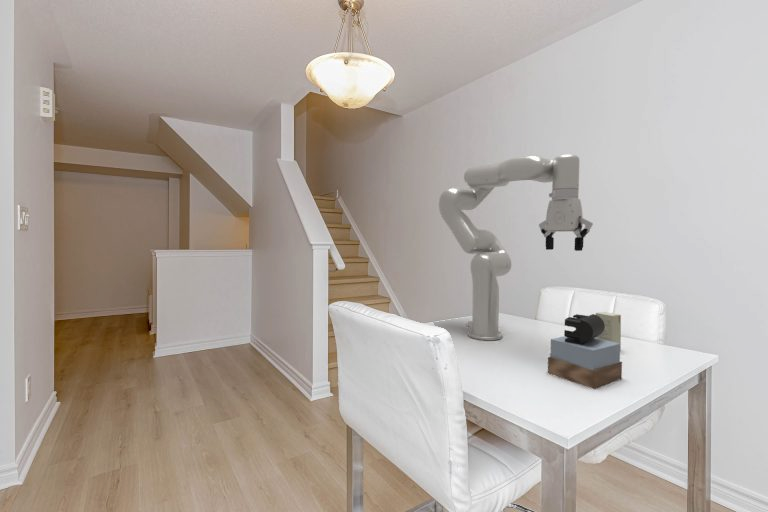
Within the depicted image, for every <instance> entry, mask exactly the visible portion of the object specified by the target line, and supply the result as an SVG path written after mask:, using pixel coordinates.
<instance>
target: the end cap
mask: <svg viewBox="0 0 768 512" xmlns="http://www.w3.org/2000/svg"><path fill="white" fill-rule="evenodd" d="M564 326H565V327H569V328H570V327H572V328H575V329H574V330H572V331H571V330H566V329H564V333H563V335H564V336H565V337H568V338H566V339H565V342H569V343H574V344H585V343H587V342H588V341H590V340H592V339H594V338H596V337H597V336H598V335H600V334H602V333H603V331H604V328H605V325H604V322H603V320H602V319H601V318H600V317H599V316H597V315H596V313H595V314H594V313H593V314H592V313H591V314H590V315H585V314H577V313H576V314H574V315H572V317H571V316H569V317H566V318H565V319H564ZM564 336H563V337H564Z"/></svg>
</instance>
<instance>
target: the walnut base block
mask: <svg viewBox="0 0 768 512" xmlns="http://www.w3.org/2000/svg"><path fill="white" fill-rule="evenodd" d="M622 368H623V362H622V361H620V363H616V364H613V365H609V366H606V367H602V368H599V369H595V370H590V369H587V368H584V367H581V366H577V365H574V364H571V363H568V362H565V361H561V360H558V359H555V358H552V357H550V356H547V374H548V373H549V374H548V375H551V374H552V375H551V376H554V375H555V377H557V376H558V378H560V377H561V379H563V378H564V379H563V380H566V379H567V380H566V381H570V382H573V383H576V384H579V385H582V386H584V387H587V388H590V387H591V388H590V389H594V390H596V388H597V389H599V388H601V386H602V387H604V386H606V384H607V385H609V384H611V382H612V383H615V382H617V381H619V380H621V379H622V377H623V376H622V375H623V374H622V370H623V369H622Z"/></svg>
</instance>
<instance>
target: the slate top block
mask: <svg viewBox="0 0 768 512" xmlns="http://www.w3.org/2000/svg"><path fill="white" fill-rule="evenodd" d="M566 338H568V337H565V336H560V337H555V338H550V356H549V357H552V358H555V359H558V360H561V361H565V362H568V363H571V364H574V365H577V366H581V367H584V368H587V369H590V370H595V369H599V368H602V367H606V366H609V365H613V364H616V363H620V360H621V351H620V344H619V343H615V342H611V341H606V340H602V339H598V338H594V339H592V340H590V341H588V342H587V343H585V344H574V343H569V342H565V339H566Z"/></svg>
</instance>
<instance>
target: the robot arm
mask: <svg viewBox="0 0 768 512" xmlns="http://www.w3.org/2000/svg"><path fill="white" fill-rule="evenodd" d="M463 180H464V183H465V185H467V186H468V188H462V187H448V188H446V189H444V190H443V191H442V193H441V194H440V196H439V201H438V210H439V213H440V215H441V217H442V220H443V221H444V222H445V224H446V225H447V226H448V228H449V230H450V231H451V233H452V235H453V236H454V238H455V240H456V241H457V243H458V245H459V246H460V247H461V249H462V250H463V252H464V253H466V254H469V255H474V256H473V257H472V259H471V261H470V267H469V268H470V274H471V281H472V317H471V318H472V321H471V320H469V321H468V322H466V324H465V327H467V328H469V330H468V332H467V336H468V335H469V337H470V338H471V339H475V340H483V341H497V340H500V339H503V337H504V334H503V333H502V332H501V331H499V321H500V319H499V314H500V313H499V311H500V308H499V307H500V287H499V283H498V279H497V277H502V276H505V275H507V274H508V273H510V271H511V269H512V260H511V257H510V255H509V254H508V252H507V250H506V249H505V247H504V246H503V245H502V243H501V242H500V241H499V239H498V237H497V235H495V234H494V233H493V232H491V231H490V230H487V229H478V228H477V227H476V225H474V223H473V222H472V220H471V218H470V217H469V216H468V215H467V214H466V213H464V211H472V210H475V209H476V208H477V207H478V206H480V204H481V203H482V202H484V200H485V199H486V198H487V197H488V196H489V195H490V194H491V193H492V191H493V190H494V189H495V188H498V187H499V188H500V187H505V186H507V185H508V184H509V183H510V182H517V181H519V182H520V181H534V182H538V183H543V184H545V183H551V182H552V188H551V189H552V190H551V193H550V192H549V193H548V197H549V198H551V200H549V202H548V206H547V210H546V215H545V216H546V217H545V220H544V221H542V222H540V223H538V227H539V230H540V232H541V234H542V235H543V237H544V238H545V250H547V251H548V250H549V251H551V250H554V248H555V247H554V242H555V241H554V240H555V238H554V234H555V233H556V232H573V233H574V235H575V236H576V237H574V251H576V252H578V251H579V252H580V251H583V248H584V238H586V235H587V234H589V233H590V231H591V229H592V227H593V222H591V221H590V220H587V219H585V218H584V217H583V208H582V201H581V199H580V198H579V190H580V189H579V188H580V183H579V181H580V157H579V156H578V155H576V154H561V155H557V156H555V157H554V159H550V158H544V157H541V156H537V155H530V156H529V155H528V156H521V157H514V158H509V159H506V160H503V161H499V162H491V163H485V164H484V163H483V164H477V165H472V166H470V167H468V168H467V169H466V171H465V172H464V174H463ZM583 225H584V228H583Z"/></svg>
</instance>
